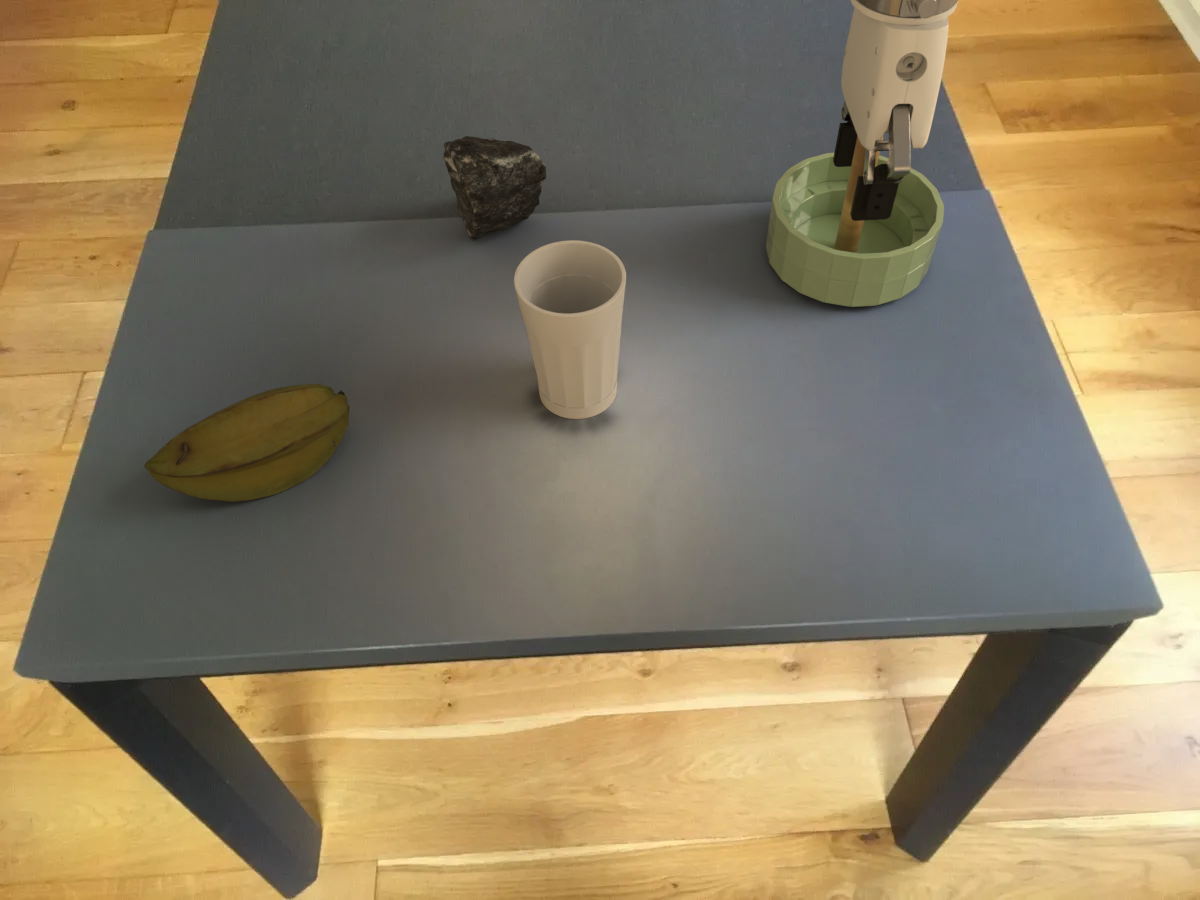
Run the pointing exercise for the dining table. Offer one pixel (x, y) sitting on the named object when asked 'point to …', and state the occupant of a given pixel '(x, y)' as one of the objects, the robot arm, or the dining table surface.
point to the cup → (573, 324)
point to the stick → (847, 227)
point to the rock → (493, 182)
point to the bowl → (885, 249)
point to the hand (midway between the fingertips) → (860, 188)
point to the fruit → (255, 445)
